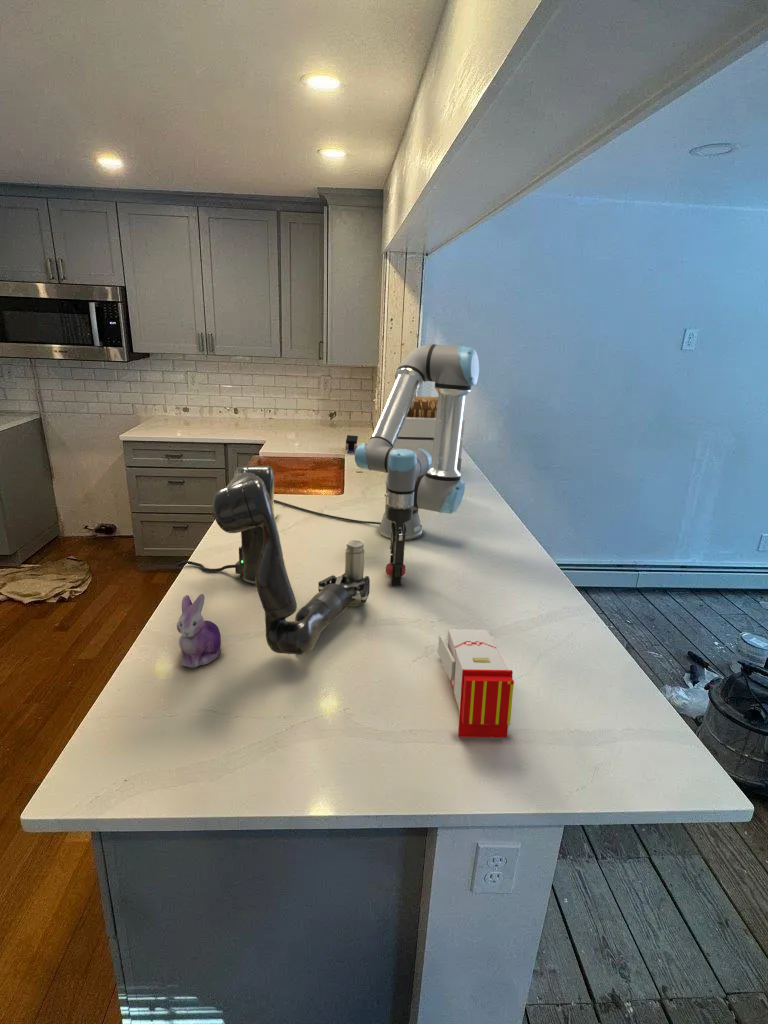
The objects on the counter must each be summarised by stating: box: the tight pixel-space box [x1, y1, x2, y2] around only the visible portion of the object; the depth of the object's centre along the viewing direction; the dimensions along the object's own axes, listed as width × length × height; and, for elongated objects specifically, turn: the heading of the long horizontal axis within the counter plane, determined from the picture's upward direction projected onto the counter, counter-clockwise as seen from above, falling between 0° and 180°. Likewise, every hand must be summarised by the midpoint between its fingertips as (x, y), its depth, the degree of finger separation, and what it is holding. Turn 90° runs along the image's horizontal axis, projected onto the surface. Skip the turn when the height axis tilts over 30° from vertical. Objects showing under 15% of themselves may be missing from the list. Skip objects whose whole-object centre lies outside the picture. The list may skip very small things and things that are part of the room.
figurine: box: [176, 593, 222, 668], centre depth 123 cm, size 9×10×15 cm
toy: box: [437, 628, 515, 738], centre depth 117 cm, size 12×13×30 cm
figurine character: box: [345, 434, 359, 454], centre depth 310 cm, size 7×8×15 cm
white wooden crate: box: [393, 396, 465, 475], centre depth 268 cm, size 34×33×41 cm
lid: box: [385, 562, 406, 578], centre depth 165 cm, size 6×6×2 cm
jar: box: [344, 539, 365, 607], centre depth 150 cm, size 5×5×17 cm
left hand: (358, 577), depth 153 cm, fingers closed on jar, 5 cm apart
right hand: (395, 580), depth 166 cm, fingers closed on lid, 6 cm apart
